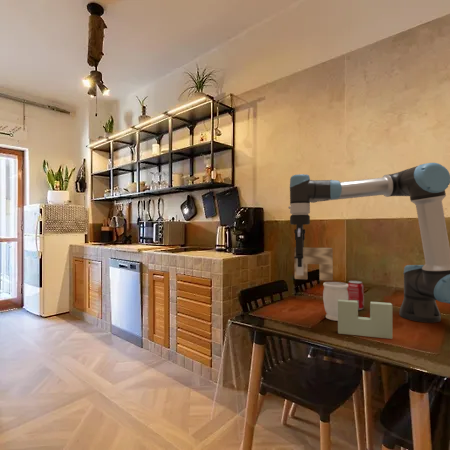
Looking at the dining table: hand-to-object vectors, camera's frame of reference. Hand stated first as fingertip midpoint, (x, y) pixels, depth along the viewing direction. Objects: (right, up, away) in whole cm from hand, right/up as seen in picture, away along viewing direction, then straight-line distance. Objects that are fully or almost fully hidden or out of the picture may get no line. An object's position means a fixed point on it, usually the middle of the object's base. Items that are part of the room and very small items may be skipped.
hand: (300, 274), depth 118 cm
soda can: (+34, -21, +28) cm, 49 cm away
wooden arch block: (+5, -2, -1) cm, 5 cm away
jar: (+19, -21, +13) cm, 31 cm away
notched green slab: (+22, -21, -7) cm, 31 cm away
